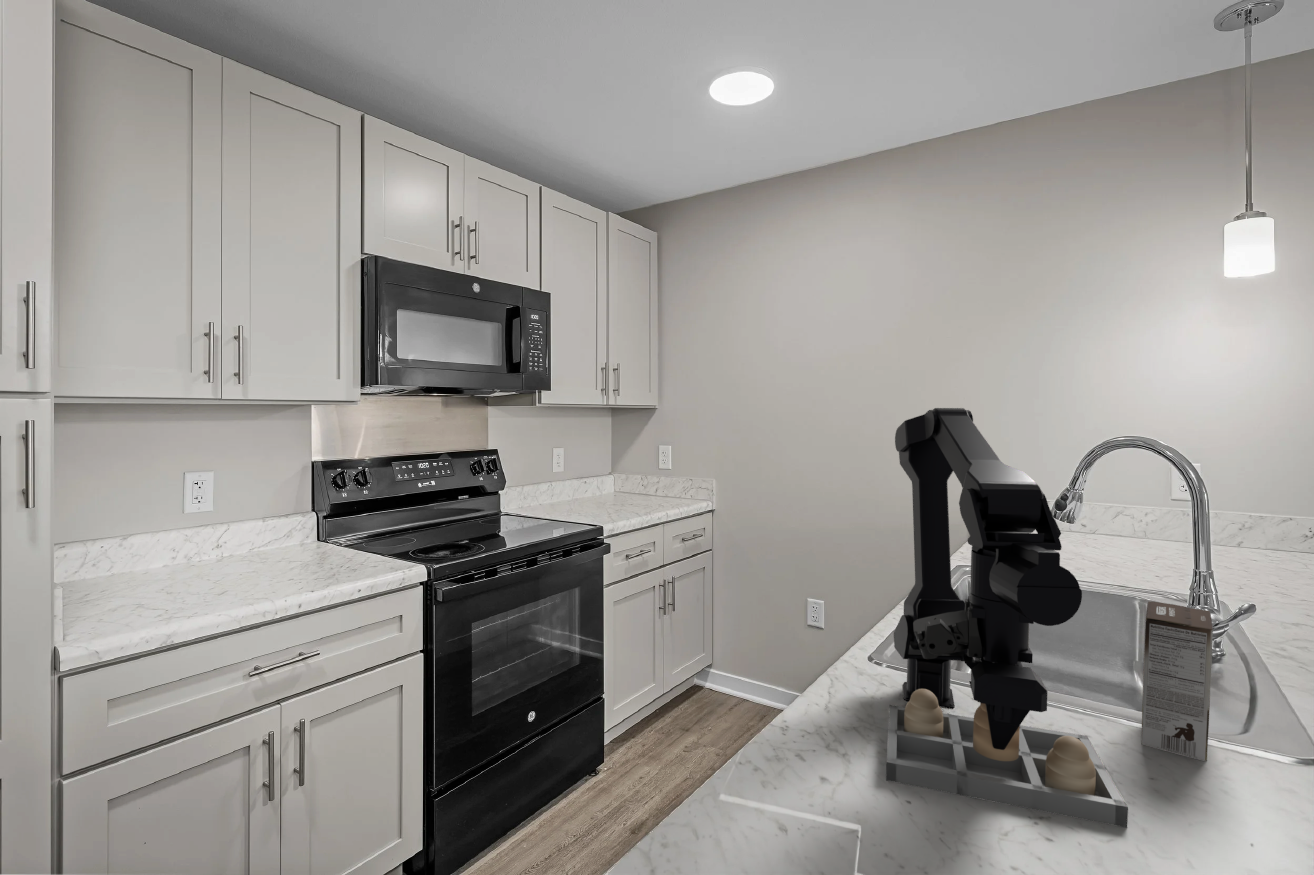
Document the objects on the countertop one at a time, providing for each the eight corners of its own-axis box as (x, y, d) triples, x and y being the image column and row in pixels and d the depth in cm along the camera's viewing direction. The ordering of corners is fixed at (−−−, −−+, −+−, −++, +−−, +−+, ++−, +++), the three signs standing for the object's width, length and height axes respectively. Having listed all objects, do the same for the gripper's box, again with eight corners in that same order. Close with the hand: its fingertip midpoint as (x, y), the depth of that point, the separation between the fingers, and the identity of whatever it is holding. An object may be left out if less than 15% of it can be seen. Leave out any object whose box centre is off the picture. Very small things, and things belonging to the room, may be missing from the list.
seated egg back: (903, 728, 82) (905, 680, 82) (941, 734, 81) (943, 685, 81) (903, 744, 78) (905, 694, 78) (943, 751, 77) (945, 700, 76)
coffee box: (1143, 720, 86) (1147, 599, 85) (1206, 736, 82) (1211, 609, 81) (1138, 747, 79) (1143, 616, 78) (1208, 765, 75) (1213, 627, 74)
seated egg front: (1041, 780, 71) (1042, 724, 71) (1088, 788, 69) (1090, 731, 69) (1049, 802, 67) (1051, 743, 66) (1100, 812, 65) (1102, 751, 65)
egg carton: (889, 722, 85) (889, 704, 85) (1086, 755, 77) (1087, 735, 77) (886, 783, 71) (886, 761, 71) (1127, 831, 63) (1128, 806, 63)
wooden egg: (971, 737, 73) (972, 683, 73) (1015, 744, 72) (1016, 689, 71) (975, 756, 69) (976, 698, 69) (1022, 764, 68) (1023, 705, 67)
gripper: (917, 569, 81) (914, 691, 82) (920, 611, 64) (917, 766, 65) (1018, 577, 77) (1014, 706, 78) (1050, 625, 60) (1045, 790, 61)
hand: (995, 738), depth 70 cm, fingers closed on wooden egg, 4 cm apart
